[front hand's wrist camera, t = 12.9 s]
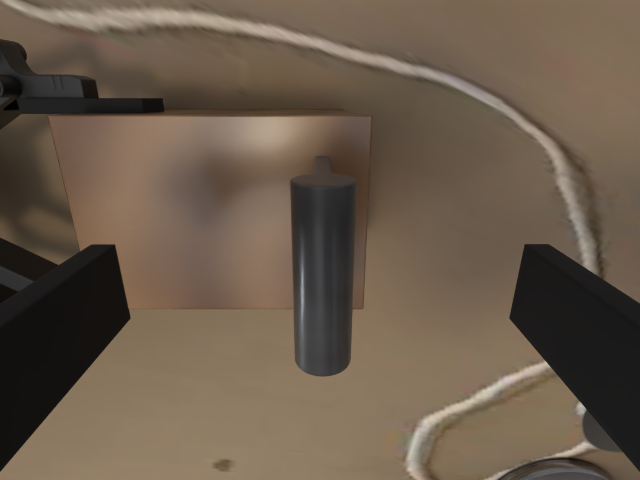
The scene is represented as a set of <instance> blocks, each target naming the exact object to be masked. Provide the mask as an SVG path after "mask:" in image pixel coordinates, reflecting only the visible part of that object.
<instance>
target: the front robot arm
mask: <svg viewBox="0 0 640 480" xmlns="http://www.w3.org/2000/svg"><path fill="white" fill-rule="evenodd" d="M129 320H130V313H129V308H128V303H127V298H126V294H125V289H124V284H123V279H122V275H121V270H120V265H119V260H118V255H117V251H116V246H115V244H91V245H89V246H88V247H86V248H85V249H83V250H82V251H80V252H79V253H77V254H76V255H74V256H73V257H71V258H69V259H68V260H66V261H65V262H63V263H62V264H60V265H59V266H57V267H56V268H54V269H53V270H51V271H49V272H48V273H46V274H45V275H43V276H42V277H40V278H39V279H37V280H36V281H34V282H33V283H31V284H30V285H28V286H26V287H25V288H23V289H22V290H20V291H19V292H17V293H16V294H14V295H13V296H11V297H10V298H8V299H6V300H5V301H3V302H2V303H0V471H1V470H2V469H3V468H4V467H5V465H6V464H7V463H8V462H9V461H10V460H11V458H12V457H13V456H14V455H15V454H16V453H17V451H18V450H19V449H20V448H21V447H22V445H23V444H24V443H25V442H26V441H27V440H28V438H29V437H30V436H31V435H32V434H33V433H34V431H35V430H36V429H37V428H38V427H39V425H40V424H41V423H42V422H43V421H44V420H45V418H46V417H47V416H48V415H49V414H50V413H51V411H52V410H53V409H54V408H55V407H56V405H57V404H58V403H59V402H60V401H61V400H62V398H63V397H64V396H65V395H66V394H67V393H68V391H69V390H70V389H71V388H72V387H73V385H74V384H75V383H76V382H77V381H78V380H79V378H80V377H81V376H82V375H83V374H84V373H85V371H86V370H87V369H88V368H89V367H90V365H91V364H92V363H93V362H94V361H95V360H96V358H97V357H98V356H99V355H100V354H101V353H102V351H103V350H104V349H105V348H106V347H107V345H108V344H109V343H110V342H111V341H112V340H113V338H114V337H115V336H116V335H117V334H118V333H119V331H120V330H121V329H122V328H123V327H124V326H125V324H126V323H127V322H128V321H129ZM510 320H511V321H512V322H513V323H514V324H515V326H516V327H517V328H518V329H519V330H520V331H521V333H522V334H523V335H524V336H525V337H526V338H527V340H528V341H529V342H530V343H531V344H532V345H533V347H534V348H535V349H536V350H537V351H538V353H539V354H540V355H541V356H542V357H543V358H544V360H545V361H546V362H547V363H548V364H549V365H550V367H551V368H552V369H553V370H554V371H555V373H556V374H557V375H558V376H559V377H560V378H561V380H562V381H563V382H564V383H565V384H566V385H567V387H568V388H569V389H570V390H571V391H572V393H573V394H574V395H575V396H576V397H577V398H578V400H579V401H580V402H581V403H582V404H583V405H584V407H585V408H586V409H587V410H588V411H589V413H590V414H591V415H592V416H593V417H594V418H595V420H596V421H597V422H598V423H599V424H600V425H601V427H602V428H603V429H604V430H605V431H606V432H607V434H608V435H609V436H610V437H611V438H612V440H613V441H614V442H615V443H616V444H617V445H618V447H619V448H620V449H621V450H622V451H623V453H624V454H625V455H626V456H627V457H628V458H629V460H630V461H631V462H632V463H633V464H634V465H635V467H636V468H637V469H638V470H639V471H640V303H638V302H637V301H635V300H634V299H632V298H630V297H629V296H627V295H626V294H624V293H623V292H621V291H620V290H618V289H617V288H615V287H614V286H612V285H610V284H609V283H607V282H606V281H604V280H603V279H601V278H600V277H598V276H597V275H595V274H594V273H592V272H591V271H589V270H587V269H586V268H584V267H583V266H581V265H580V264H578V263H577V262H575V261H574V260H572V259H571V258H569V257H567V256H566V255H564V254H563V253H561V252H560V251H558V250H557V249H555V248H554V247H552V246H551V245H549V244H525V246H524V251H523V255H522V260H521V265H520V270H519V275H518V279H517V284H516V289H515V294H514V298H513V303H512V308H511V313H510ZM501 480H613V479H612V478H611V477H610V476H609V475H608V474H607V473H606V472H605V471H603V470H602V469H600V468H598V467H596V466H594V465H592V464H589V463H586V462H582V461H576V460H549V461H543V462H538V463H534V464H531V465H528V466H525V467H522V468H520V469H518V470H516V471H514V472H512V473H510V474H508V475H507V476H505V477H504V478H502V479H501Z"/></svg>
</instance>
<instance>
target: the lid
mask: <svg viewBox="0 0 640 480" xmlns="http://www.w3.org/2000/svg"><path fill="white" fill-rule="evenodd" d="M48 119H49V123H50V128H51V132H52V136H53V140H54V144H55V148H56V153H57V157H58V161H59V165H60V169H61V173H62V178H63V182H64V186H65V190H66V194H67V199H68V203H69V207H70V211H71V215H72V219H73V224H74V228H75V232H76V236H77V240H78V244H79V249H80V251H82V250H83V249H85V248H86V247H88V246H89V245H91V244H115V246H116V251H117V255H118V260H119V265H120V270H121V275H122V279H123V284H124V289H125V294H126V298H127V303H128V308H129V309H294V343H295V361H296V364H297V365H298V367H299V368H300V369H301V370H303V371H304V372H306V373H308V374H311V375H315V376H331V375H335V374H338V373H340V372H342V371H343V370H345V369H346V368H347V366H348V365H349V363H350V360H351V335H352V309H363V304H364V283H365V261H366V240H367V219H368V197H369V176H370V154H371V133H372V116H371V115H296V114H63V115H49V116H48Z"/></svg>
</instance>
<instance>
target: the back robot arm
mask: <svg viewBox="0 0 640 480" xmlns="http://www.w3.org/2000/svg"><path fill="white" fill-rule="evenodd" d="M26 59H27V54H26V51H25V49H24V48H23V47H22V46H21V45H20V44H19V43H16V42H13V41H8V40H2V39H0V129H2V128H3V127H4V126H6V125H7V124H8V123H10V122H11V121H12V120H14V119H15V118H16V117H18V116H19V115H20V114H80V113H154V112H164V106H163V99H162V98H99V97H98V92H97V86H96V81H95V80H94V79H91V78H89V77H86V76H78V75H37V74H36V73H34V72H33V71H32V70H31V69H30V68H29V66H28V65H27V63H26ZM57 266H59V265H57V264H55V263H53V262H51V261H48V260H46V259H44V258H42V257H40V256H38V255H36V254H34V253H32V252H29V251H27V250H25V249H23V248H21V247H19V246H17V245H15V244H12V243H10V242H8V241H6V240H4V239H2V238H0V303H2V302H3V301H5V300H6V299H8V298H10V297H11V296H13V295H14V294H16V293H17V292H19V291H20V290H22V289H23V288H25V287H26V286H28V285H30V284H31V283H33V282H34V281H36V280H37V279H39V278H40V277H42V276H43V275H45V274H46V273H48V272H49V271H51V270H53V269H54V268H56V267H57Z"/></svg>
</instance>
